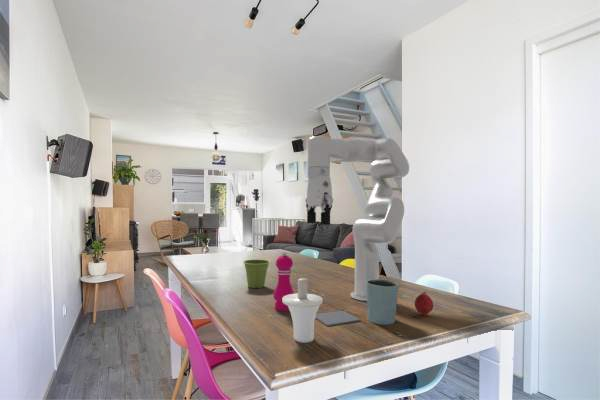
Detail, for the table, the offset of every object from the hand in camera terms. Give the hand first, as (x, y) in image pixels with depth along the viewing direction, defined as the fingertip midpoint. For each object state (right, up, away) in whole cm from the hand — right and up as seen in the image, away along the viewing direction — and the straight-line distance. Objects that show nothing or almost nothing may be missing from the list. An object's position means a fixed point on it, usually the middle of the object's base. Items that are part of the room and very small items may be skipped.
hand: (318, 223), depth 112 cm
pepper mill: (-12, -30, +5) cm, 33 cm away
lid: (-5, -20, -22) cm, 30 cm away
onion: (+35, -31, -1) cm, 47 cm away
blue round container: (+20, -31, -6) cm, 37 cm away
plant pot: (-26, -31, +36) cm, 54 cm away
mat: (+5, -30, -6) cm, 31 cm away
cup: (-5, -30, -22) cm, 37 cm away
